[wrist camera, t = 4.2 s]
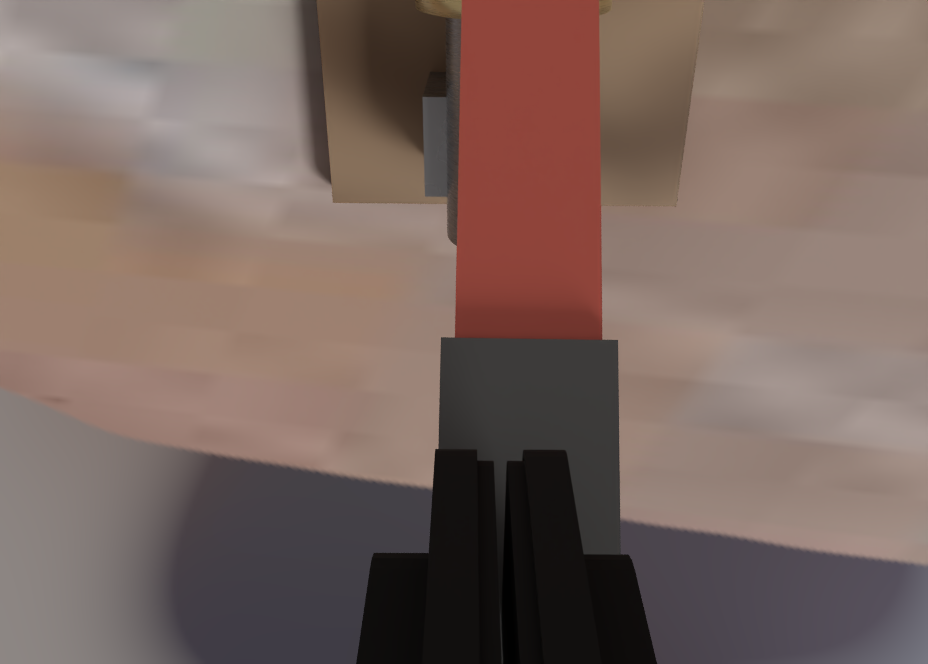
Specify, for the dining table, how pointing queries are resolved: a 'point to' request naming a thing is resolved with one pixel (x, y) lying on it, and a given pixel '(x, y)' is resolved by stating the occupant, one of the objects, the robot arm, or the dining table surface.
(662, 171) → the mount board
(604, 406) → the lever
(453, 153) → the valve
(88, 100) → the dining table surface
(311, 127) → the dining table surface
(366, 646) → the robot arm
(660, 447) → the dining table surface
